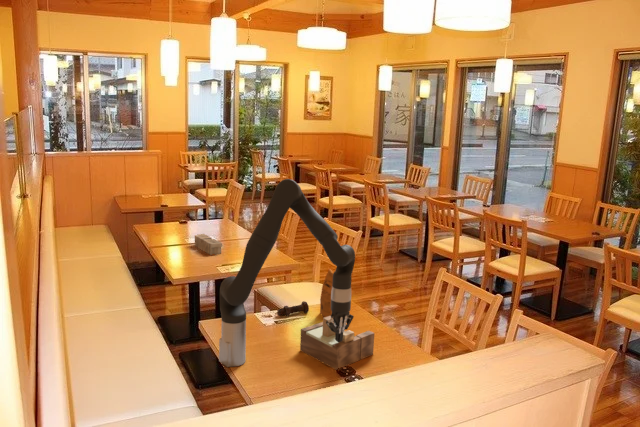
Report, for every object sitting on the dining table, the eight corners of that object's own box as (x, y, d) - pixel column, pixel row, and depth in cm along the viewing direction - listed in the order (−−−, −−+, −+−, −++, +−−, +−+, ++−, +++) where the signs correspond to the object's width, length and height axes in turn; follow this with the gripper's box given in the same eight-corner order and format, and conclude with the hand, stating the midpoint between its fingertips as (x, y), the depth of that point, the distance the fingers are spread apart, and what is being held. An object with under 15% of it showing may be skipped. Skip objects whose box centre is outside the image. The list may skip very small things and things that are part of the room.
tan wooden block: (344, 343, 208) (345, 335, 207) (339, 340, 210) (340, 333, 209) (353, 339, 211) (354, 332, 210) (348, 337, 213) (349, 330, 212)
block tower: (193, 246, 372) (211, 256, 349) (193, 234, 371) (210, 243, 347) (204, 245, 377) (222, 254, 353) (204, 233, 375) (222, 241, 351)
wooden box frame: (336, 369, 206) (337, 347, 204) (300, 350, 221) (300, 329, 219) (373, 354, 220) (374, 333, 218) (337, 336, 235) (338, 316, 233)
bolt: (277, 319, 256) (305, 313, 263) (281, 318, 251) (309, 312, 258) (274, 307, 257) (302, 302, 264) (278, 305, 253) (307, 300, 260)
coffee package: (335, 310, 265) (337, 266, 261) (347, 319, 254) (349, 274, 250) (316, 312, 261) (318, 268, 257) (328, 322, 250) (330, 276, 246)
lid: (331, 349, 207) (332, 327, 205) (306, 336, 217) (306, 315, 216) (354, 340, 215) (355, 319, 213) (329, 328, 226) (329, 308, 224)
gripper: (335, 304, 196) (333, 349, 200) (360, 297, 205) (358, 340, 209) (321, 298, 202) (319, 342, 205) (346, 291, 211) (344, 333, 214)
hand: (339, 341), depth 207 cm, fingers closed
